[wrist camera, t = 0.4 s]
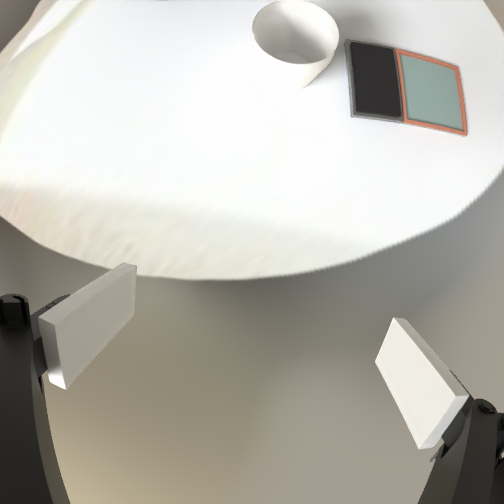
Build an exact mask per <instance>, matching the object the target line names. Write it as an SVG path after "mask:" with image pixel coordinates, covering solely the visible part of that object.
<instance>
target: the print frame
mask: <svg viewBox="0 0 504 504" xmlns="http://www.w3.org/2000/svg"><path fill="white" fill-rule="evenodd" d="M395 55H396V61H397V67H398V74H399V82H400V90H401V100H402V111H403V122H402V123H401V124H407V125H413V126H419V127H424V128H429V129H434V130H439V131H444V132H448V133H452V134H457V135H461V136H467V125H466V115H465V107H464V99H463V92H462V86H461V80H460V75H459V70H458V67H456V66H454V65H451V64H448V63H445V62H442V61H438V60H435V59H432V58H429V57H425V56H422V55H418V54H414V53H410V52H406V51H402V50H398V49H395Z"/></svg>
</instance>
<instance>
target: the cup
mask: <svg viewBox="0 0 504 504" xmlns="http://www.w3.org/2000/svg"><path fill="white" fill-rule="evenodd" d="M338 42H339V30H338V27H337V24H336V23H335V21H334V19H333V18H332V17H331V16H330V15H329V14H328V13H327V12H326V11H325V10H324V9H322V8H321V7H319V6H317V5H315V4H313V3H310V2H307V1H303V0H280V1H276V2H273V3H271V4H269V5H267V6H265V7H264V8H263V9H261V10H260V11H259V12H258V14H257V15H256V17H255V19H254V21H253V26H252V46H253V49H254V52H255V55H256V57H257V59H258V61H259V63H260V65H261V67H262V69H263V71H264V73H265V76H266V78H267V79H268V81H269V82H270V83H271V84H272V85H273V86H275V87H276V88H278V89H281V90H284V91H297V90H301V89H303V88H305V87H306V86H307V85H308V84H309V83H310V82H311V81H312V80H313V79H314V78H315V77H316V76H317V75H319V74H320V73H321V72H322V71H323V70H324V69H325V68H326V67H327V66H328V65H329V63H330V62H331V60H332V59H333V57H334V54H335V50H336V47H337V45H338Z"/></svg>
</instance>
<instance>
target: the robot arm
mask: <svg viewBox="0 0 504 504" xmlns="http://www.w3.org/2000/svg"><path fill="white" fill-rule="evenodd" d="M136 271H137V266H135V265H131V264H127V263H122V264H120V265H119V266H117V267H115V268H114V269H112V270H111V271H109V272H107V273H106V274H104V275H103V276H101V277H99V278H98V279H96V280H94V281H93V282H91V283H89V284H88V285H86V286H85V287H83V288H82V289H80V290H78V291H77V292H75V293H74V294H72V295H70V294H68V295H65V296H61V297H59V298H57V299H55V300H54V301H52V302H51V303H49V304H48V305H46V306H45V307H43V308H41V309H40V310H38V311H37V312H35V313H34V314H32V315H30V312H29V304H28V299H27V298H26V297H25V296H22V295H19V294H7V295H4V296H1V297H0V504H70V501H69V499H68V495H67V493H66V490H65V486H64V483H63V480H62V477H61V473H60V469H59V466H58V462H57V458H56V455H55V450H54V446H53V441H52V437H51V431H50V426H49V421H48V415H47V408H46V401H45V395H44V385H43V379H42V374H43V373H44V372H45V371H46V370H47V371H48V375H49V380H50V382H51V383H53V384H55V385H57V386H59V387H61V388H63V389H65V390H66V389H67V388H68V387H69V386H70V385H71V383H72V382H73V381H74V380H75V379H76V378H77V377H78V375H79V374H80V373H81V372H82V371H83V370H84V369H85V368H86V367H87V365H88V364H89V363H90V362H91V361H92V360H93V359H94V358H95V357H96V355H97V354H98V353H99V352H100V351H101V350H102V349H103V348H104V347H105V346H106V345H107V344H108V343H109V341H110V340H111V339H112V338H113V337H114V336H115V335H116V334H117V333H118V332H119V331H120V329H122V327H123V326H124V325H125V324H126V323H127V322H128V321H129V320H130V319H131V318H132V317H133V316H134V305H135V286H136ZM375 363H376V365H377V366H378V368H379V370H380V372H381V374H382V376H383V378H384V379H385V381H386V384H387V385H388V387H389V389H390V391H391V393H392V395H393V397H394V399H395V401H396V403H397V405H398V407H399V409H400V411H401V413H402V415H403V417H404V419H405V421H406V423H407V425H408V427H409V429H410V431H411V434H412V435H413V438H414V440H415V442H416V444H417V446H418V448H419V449H425V448H431V447H434V445H435V444H436V443H437V442H438V440H439V439H440V438H441V437H442V439H443V440H444V444H443V445H442V446H441V447H440V448H439V450H438V451H437V452H436V453H435V455H434V456H433V457H432V458H431V460H430V462H432V461H433V460H434V459H435V458H436V460H435V463H434V466H433V469H432V471H431V474H430V476H429V479H428V481H427V484H426V486H425V488H424V491H423V493H422V495H421V497H420V499H419V502H418V504H504V457H503V458H502V457H501V454H502V453H503V452H504V413H497V410H496V408H495V407H494V406H493V405H492V404H491V403H489V402H488V401H486V400H484V399H475V400H474V398H473V397H472V396H471V395H470V394H469V392H468V391H467V390H466V389H465V387H464V386H463V385H462V384H461V382H460V381H459V380H458V379H457V377H455V375H454V374H453V372H452V371H451V370H449V369H448V368H447V367H446V366H445V364H444V363H443V362H442V361H441V360H440V358H439V357H438V356H437V355H436V354H435V352H434V351H433V350H432V349H431V348H430V347H429V346H428V344H427V343H426V342H425V341H424V340H423V339H422V338H421V337H420V335H419V334H418V333H417V332H416V331H415V330H414V328H413V327H412V326H411V325H410V324H409V323H408V322H407V321H406V320H405V319H401V318H394V317H393V320H392V322H391V325H390V327H389V330H388V332H387V335H386V337H385V340H384V342H383V344H382V347H381V349H380V351H379V354H378V356H377V358H376V360H375Z"/></svg>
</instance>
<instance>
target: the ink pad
mask: <svg viewBox="0 0 504 504" xmlns="http://www.w3.org/2000/svg"><path fill="white" fill-rule="evenodd" d="M345 52H346V61H347V71H348V82H349V95H350V110H351V117H356V118H365V119H373V120H381V121H388V122H395V123H402V122H403V111H402V100H401V90H400V82H399V74H398V67H397V61H396V55H395V49H394V48H392V47H387V46H382V45H377V44H372V43H366V42H360V41H353V40H346V41H345Z"/></svg>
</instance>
